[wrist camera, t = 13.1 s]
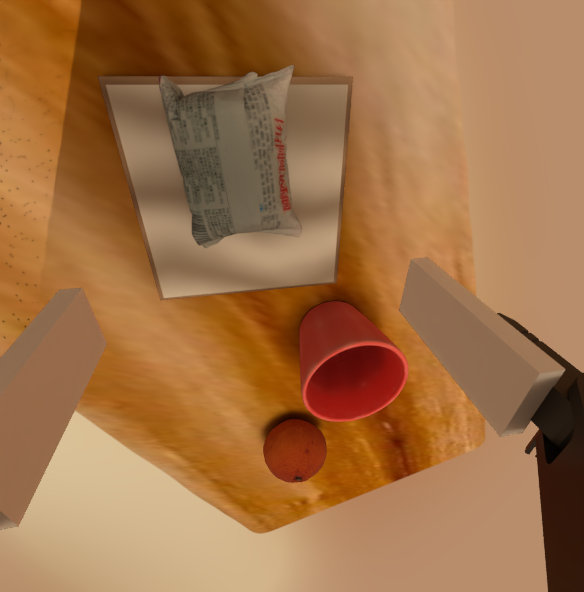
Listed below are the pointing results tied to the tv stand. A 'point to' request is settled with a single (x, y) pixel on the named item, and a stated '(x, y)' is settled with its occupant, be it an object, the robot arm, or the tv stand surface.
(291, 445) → the fruit
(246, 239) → the stand
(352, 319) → the flower pot
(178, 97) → the packaged food
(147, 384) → the tv stand surface
